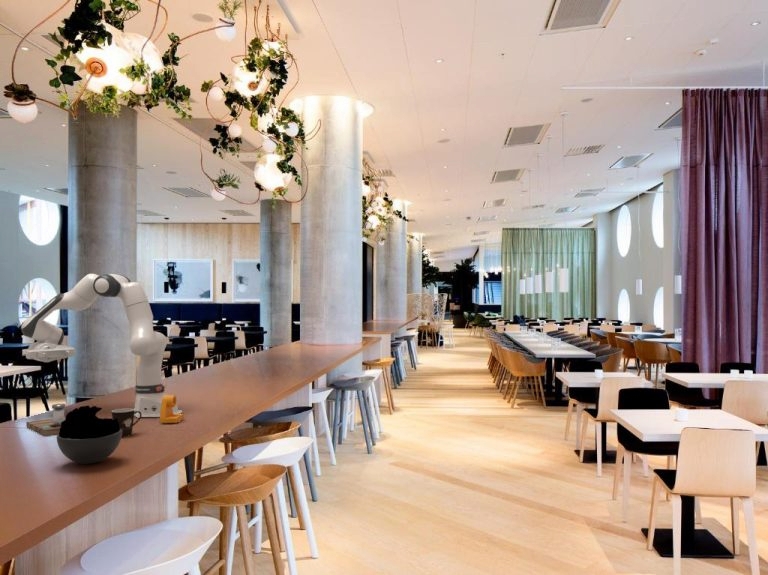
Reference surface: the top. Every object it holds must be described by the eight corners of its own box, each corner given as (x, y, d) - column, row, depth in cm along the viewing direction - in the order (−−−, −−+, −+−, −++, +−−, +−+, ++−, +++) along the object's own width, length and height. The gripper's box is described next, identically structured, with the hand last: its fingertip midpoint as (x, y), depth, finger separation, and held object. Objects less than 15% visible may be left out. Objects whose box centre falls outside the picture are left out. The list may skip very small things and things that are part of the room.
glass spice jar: (68, 430, 261) (68, 403, 261) (60, 433, 256) (60, 405, 256) (57, 430, 262) (57, 403, 262) (49, 432, 257) (49, 405, 257)
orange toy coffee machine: (176, 424, 273) (176, 397, 273) (159, 424, 273) (159, 397, 273) (184, 419, 283) (184, 393, 284) (168, 419, 283) (168, 393, 284)
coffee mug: (112, 438, 246) (112, 413, 246) (110, 434, 253) (110, 409, 254) (143, 435, 251) (143, 410, 251) (141, 431, 259) (141, 407, 259)
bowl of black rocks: (92, 453, 223) (92, 400, 223) (135, 458, 215) (135, 403, 215) (42, 467, 204) (42, 409, 205) (87, 473, 197) (87, 414, 197)
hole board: (26, 427, 267) (26, 421, 267) (61, 422, 277) (61, 416, 277) (44, 436, 250) (44, 429, 250) (81, 431, 260) (81, 424, 260)
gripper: (21, 347, 284) (30, 348, 274) (69, 344, 299) (79, 346, 289) (21, 360, 284) (30, 363, 274) (69, 357, 299) (79, 359, 289)
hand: (56, 354), depth 282 cm, fingers open, 8 cm apart
